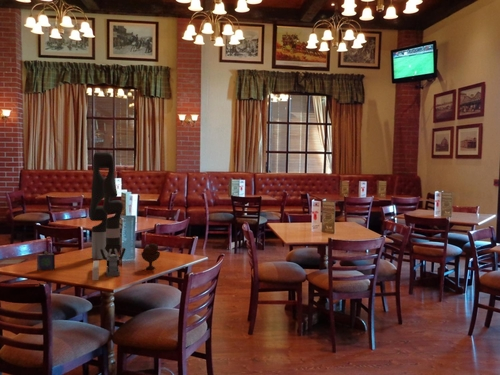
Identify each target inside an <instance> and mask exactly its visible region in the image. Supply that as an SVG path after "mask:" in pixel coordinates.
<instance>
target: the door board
mask: <svg viewBox="0 0 500 375" xmlns="http://www.w3.org/2000/svg"><path fill="white" fill-rule="evenodd" d="M92 262H93V264H92V277H91V278H92V281H99V276H100V274H99V273H100V260H93V261H92Z"/></svg>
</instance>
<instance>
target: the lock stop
mask: <svg viewBox="0 0 500 375" xmlns="http://www.w3.org/2000/svg"><path fill="white" fill-rule="evenodd" d="M109 272H117V257H116V254H112V255H110V257H109Z"/></svg>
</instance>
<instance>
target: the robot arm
mask: <svg viewBox="0 0 500 375" xmlns="http://www.w3.org/2000/svg"><path fill="white" fill-rule="evenodd" d="M100 169H108V172H107V174H106V176H103V175H102V173H101V171H100ZM115 172H116V171H115V162H114V155H113V154H112V152H105V151H104V152H103V151H102V152H95V153H94V154H93V157H92V183H91V197H90V198H91V200H90V206H89V215H88V216H89V219H90V221H92V222H100V221H101V222H100V223H98V224H97V225H94V226H92V227H91V259H93V260H104V261H106V267H109V257H110V255H116V257H117V267H118V266H119V267H120V260H122V259H123V258H124V255H125V253H126V247H122V245H121V229H120V228H121V226H120V225H121V224H120V220H121V216H122V212H123V209H124V203H123V202H122V200H120V199H119V200H118V199H117V200H116V198H117V197H118V190H117V186H116V179H115V178H116V176H115V175H116V174H115ZM102 200H103V204H102V205H99V204H100V203H101V201H102ZM98 205H99V206H98ZM108 214H114V215H113V216H110V217H108ZM120 251H121V253H120V256H119V252H120Z"/></svg>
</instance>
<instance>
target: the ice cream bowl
mask: <svg viewBox="0 0 500 375" xmlns="http://www.w3.org/2000/svg"><path fill="white" fill-rule="evenodd" d="M158 250H159V246H158V244H156V243H150V244H149V245H148V246H145V247H144V248H143V249H142V252H141V253H140V255H141V257H142V259H143V260H144V261H145V262H148V266H147V267H146V268H145V270H147V271H154V270H156V267H155V266H153V263H154V262H156V261H157V260H158V259H159V258H160V256H161V252H160V251H158Z"/></svg>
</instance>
